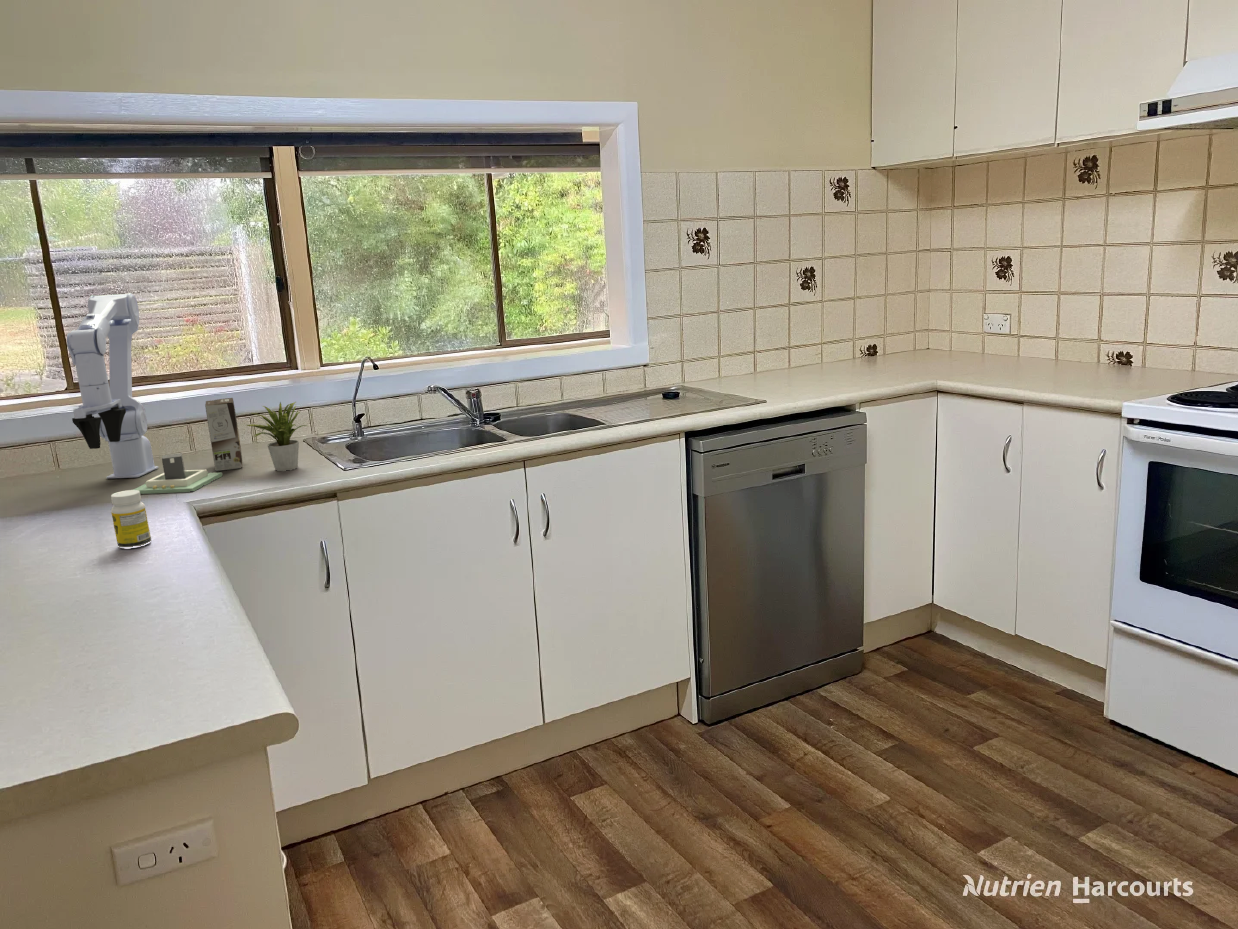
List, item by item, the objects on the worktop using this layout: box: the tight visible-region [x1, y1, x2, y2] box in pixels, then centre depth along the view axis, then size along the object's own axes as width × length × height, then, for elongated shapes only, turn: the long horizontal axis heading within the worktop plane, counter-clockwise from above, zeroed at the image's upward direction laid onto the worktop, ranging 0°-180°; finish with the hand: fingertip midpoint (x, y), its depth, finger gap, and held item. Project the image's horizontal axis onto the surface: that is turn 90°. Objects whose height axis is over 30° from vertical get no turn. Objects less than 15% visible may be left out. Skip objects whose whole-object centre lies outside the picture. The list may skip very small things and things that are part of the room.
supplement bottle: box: [110, 489, 152, 548], centre depth 169 cm, size 6×6×10 cm
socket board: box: [133, 468, 223, 495], centre depth 214 cm, size 14×14×2 cm
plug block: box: [161, 452, 186, 480], centre depth 213 cm, size 4×4×6 cm
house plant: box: [246, 401, 308, 472], centre depth 223 cm, size 14×14×16 cm
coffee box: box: [204, 397, 243, 472], centre depth 228 cm, size 9×6×16 cm
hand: (105, 444), depth 210 cm, fingers open, 7 cm apart
